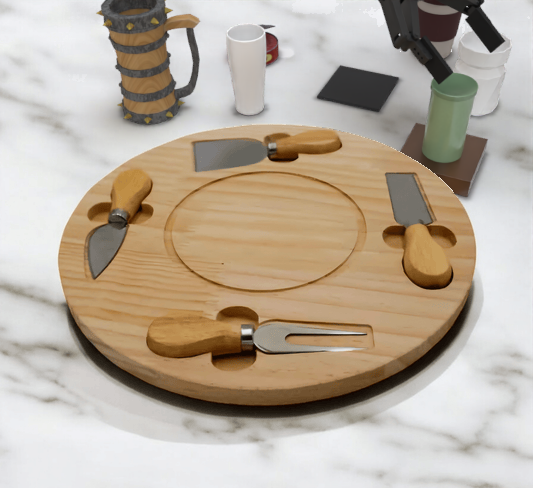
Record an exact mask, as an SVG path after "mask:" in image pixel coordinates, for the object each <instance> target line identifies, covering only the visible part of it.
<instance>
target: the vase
mask: <svg viewBox="0 0 533 488" xmlns="http://www.w3.org/2000/svg"><path fill="white" fill-rule="evenodd" d="M499 33H500V35H501V36H502V37H503V38H504V40H505V42H504V43H503V44H501V45H500V46H499V47H498V48H497V49H496V50H494V51H493V52H492V53H490V52H489V51H488V49H487V48H486V47H485V45H484V44H483V43H482V42H481V40H480V39H479V38H478V36H477V35H476V34H475V32H474V31H473V30H472V29H471V30H470V31H466V32H463V34H462V35H461V37H459V39H458V46H457V56H458V59H456V62H455V65H454V68H453V73H460V74H464V75H467V76H469V77H471V78H473V79H474V80H475V81H476V82H477V83H478V86H479V87H478V92H477V94H476V96H475V99H474V104H473V108H472V113H471V116H476V117H481V116H484V115H488V114H492V113H493V111H495V109H497V107H498V105H499V100H500V95H501V90H502V87H503V83H504V80H505V77H506V73H507V68H506V66H505V64H507V63H508V60H509V58H510V54H511V51H512V47H513V44H512V43H513V42H512V38H510V37H509V36H507V35H506V34H504V33H502V32H499Z"/></svg>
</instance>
